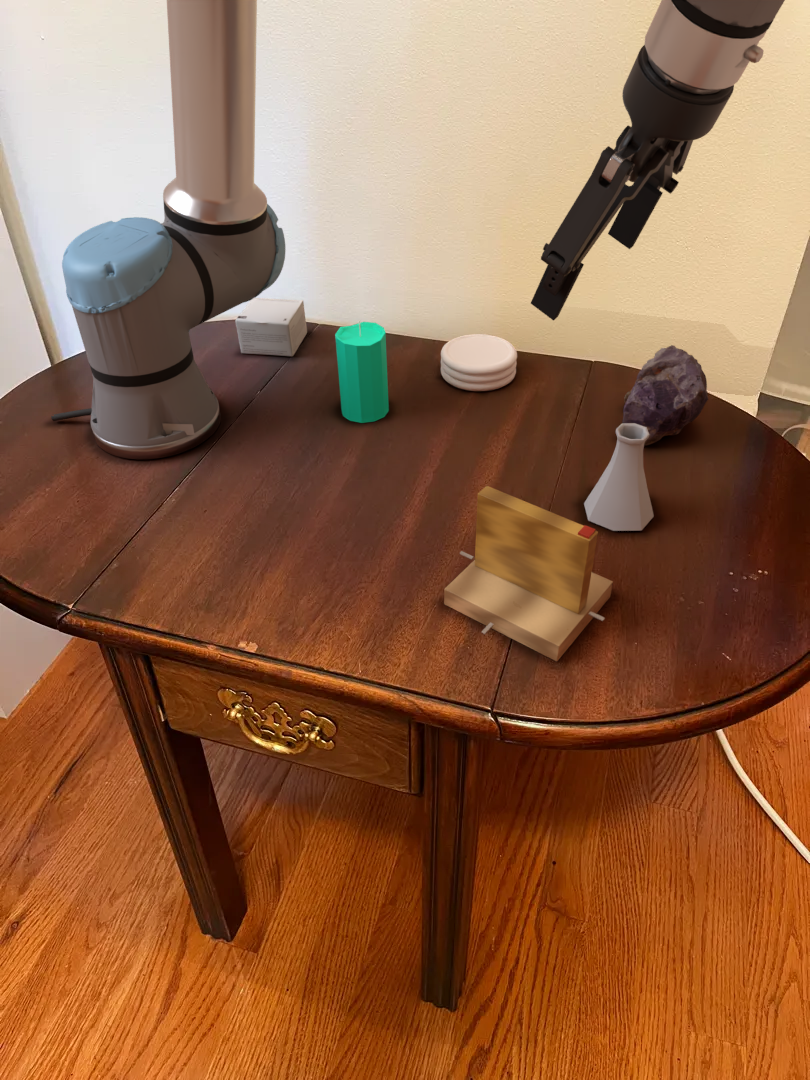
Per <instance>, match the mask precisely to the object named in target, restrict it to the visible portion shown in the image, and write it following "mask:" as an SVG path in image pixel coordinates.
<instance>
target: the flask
mask: <svg viewBox="0 0 810 1080" xmlns="http://www.w3.org/2000/svg"><path fill="white" fill-rule="evenodd" d="M615 434H616V438H617V440H616V445H615V448H614V450H613V453H612V456H611V458H610V460H609V463H608V465H606V467H605V469H604V471H603V473H602V475H601V476H600V477H599V479H598V481H597V482H596V484H595V485H594V487H593V489H592V490H591V492H590V493H589V494H588V496H587V497H586V500H585V501H584V502H583V505H584V509H585V513H586V518H587V521H588V522H591V523H593V524H596V525H598V526H601V527H603V528H605V529H608V530H610V531H612V532H618V531H619V532H620V531H621V532H624V531H625V532H626V531H627V532H629V531H630V532H631V531H633V532H634V531H640V532H641V531H643V530H644V529H645V527H646V526H647V525H648V524H649V523H650V521H651V520H652V519H653V518H654V516H655V515H654V510H653V506H652V502H651V498H650V493H649V489H648V485H647V479H646V474H645V467H644V447H645V445H644V443H645V441H646V440H647V439H648V437H649V432H648V430H647V427H644V426H641V425H638V424H635V423H620V425H618V426H617V427H616V428H615Z"/></svg>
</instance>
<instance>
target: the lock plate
mask: <svg viewBox="0 0 810 1080" xmlns="http://www.w3.org/2000/svg"><path fill="white" fill-rule="evenodd" d="M459 555H461V556H463V557H465V558H466V559H468V560H469V559H470V560H473V559H474V560H473V561H472V562H470V564H468V566H466V568H465V569H463V570H462V571H461V572H460V573H459V574H458V575H457V576H456V577H455V578H454V579H453V580H452V581H451V582H450V583H449V584H448V585H447V586H446V587H444V590H443V604H444V605H445V606H446V607H449V608H451V609H453V610H455V611H457V612H459V613H460V614H463V615H465V616H466V617H469V618H470V619H472V620H474V621H477V622H478V623H480V624H482V625H484V626H485V627H484V628H483V629H482V631H481V634H483V635H486V634H488V632H489V631H490V630H491V629H493V630H494V631H496V632H498V633H500V634H502V635H504V636H506V637H507V638H509V639H512V640H514V641H516V642H517V643H520V644H521V645H523V646H525V647H527V648H529V649H531V650H533V651H535V652H537V653H539V654H541V655H543V656H545V657H547V658H549V659H551V660H553V661H555V662H558V661H559V660H560V659H561V657H562V656H563V655H564V654H565V653H566V652H567V650H568V649H569V648H570V646H571V645H572V644H573V643H574V642H575V641H576V639H577V638H578V637H579V636H580V634H582V632H583V631H584V629H585V628H586V627H587V626H588V625H589V623H590V622H591V621H592V620H593V619H597V620H599V621H601V622H603V621H605V619H606V617H604V616H602V615H600V614H598V613H599V611H600V610H601V609H602V607H603V606H604V605H605V604H606V603H607V602H608V601H609V599H610V598H611V594H612V590H613V584H614V581H613V580H610V579H608V578H606V577H604V576H601V575H599V574H597V573H595V572H593V571H592V573H591V579H590V585H589V591H588V597H587V603H586V606H585V607H584V608H583V609H582V610H581V612H580V613H579V614H577V613H574V612H572V611H570V610H568V609H566V608H564V607H562V606H560V605H557V604H555V603H553V602H551V601H549V600H547V599H545V598H543V597H541V596H538V595H536V594H534V593H532V592H530V591H528V590H526V589H524V588H521V587H519V586H517V585H515V584H513V583H511V582H509V581H507V580H505V579H502V578H500V577H498V576H496V575H494V574H492V573H490V572H488V571H485V570H483V569H481V568H479V567H477V566H475V555H474V556H473V555H471V554H469V553H467V552H465V551H464V550H463V551H462V550H461V551H460V552H459Z"/></svg>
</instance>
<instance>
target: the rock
mask: <svg viewBox="0 0 810 1080" xmlns="http://www.w3.org/2000/svg"><path fill="white" fill-rule="evenodd" d="M623 400H624V405H623V409H622V412H623V415H622V416H623V417H622V423H635V424H638V425H641V426H644V427H647V430H648V432H649V437H648V439H647V440H646V441H645V443H644V446H649V445H653V444H655V443H657V442H659V441H661V439H662V438H663V437H666V436H675V435H678V434H679V433H680V432H682V430H683V428H684V427H685V426H687V425H688V424H690V423H693V422H694V420H696V419H697V418H698V417H699V416H700V414H701V412H702V411H703V410H704V407H705V405H706V403H707V402H708V401H709V396H708V382H707V376H706V374H705V372H704V371H703V369H702V365H701V363H699V360H698V359H696V358H695V357H694V356H693V355H692V354H689V353H688V352H687V351H686V350H685V349H682V348H678V347H676V345H673V344H671V345H669V346H667V347H661V348H660V349H658V351H656V352H655V353H654V356H653V357H652V358H650V359H648V360H646V363H644V364H643V365H642V366H641V369H640V370H639V372H638V373H637V375H636V379H635V382H634V385H633V386H632V388H631V389H630V390H629V391H627V392H626V393H625V395H624V398H623ZM622 423H621V424H622Z"/></svg>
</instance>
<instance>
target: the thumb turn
mask: <svg viewBox="0 0 810 1080" xmlns="http://www.w3.org/2000/svg"><path fill="white" fill-rule="evenodd" d="M476 500H477V501H476V526H475V547H474V548H475V549H474V560H475V566H477V567H479V568H481V569H483V570H485V571H488V572H490V573H492V574H494V575H496V576H498V577H500V578H502V579H505V580H507V581H509V582H511V583H513V584H515V585H517V586H519V587H521V588H524V589H526V590H528V591H530V592H532V593H534V594H536V595H538V596H541V597H543V598H545V599H547V600H549V601H551V602H553V603H555V604H557V605H560V606H562V607H564V608H566V609H568V610H570V611H572V612H574V613H577V614H579V613H580V612H581V610H582V609H583V608H584V607H585V606H586V603H587V597H588V591H589V585H590V579H591V573H592V572H593V566H594V561H595V559H594V558H595V553H596V548H597V542H598V535H599V531H597V530H596V528H594V527H591V526H588V525H586V524H584V525H583V524H581V523H578V522H576V521H574V520H571V519H570V518H569V519H568V518H566V517H564V516H561V515H559V514H556V513H554V512H552V511H549V510H547V509H544V508H542V507H539V506H537V505H535V504H532V503H530V502H528V501H524V500H523V499H520V498H519V497H515V496H513V495H511V494H508V493H506V492H503V491H501V490H498V489H497V488H494V487H491V486H488V485H486V486H485V487H483V488H482V489H481V490H480V491H479V492H478V493H477V499H476Z"/></svg>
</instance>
